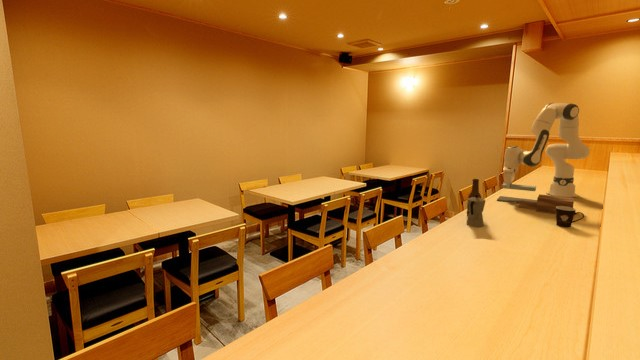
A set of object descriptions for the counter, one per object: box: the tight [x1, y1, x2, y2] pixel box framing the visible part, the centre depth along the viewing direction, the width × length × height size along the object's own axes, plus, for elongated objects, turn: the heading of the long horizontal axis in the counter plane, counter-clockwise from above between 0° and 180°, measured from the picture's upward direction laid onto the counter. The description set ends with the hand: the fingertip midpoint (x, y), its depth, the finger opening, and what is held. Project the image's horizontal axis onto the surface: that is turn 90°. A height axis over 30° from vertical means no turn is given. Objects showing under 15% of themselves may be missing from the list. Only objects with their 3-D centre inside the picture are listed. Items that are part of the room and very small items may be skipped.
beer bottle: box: [466, 178, 482, 218], centre depth 188 cm, size 8×8×24 cm
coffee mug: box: [555, 206, 585, 229], centre depth 169 cm, size 12×9×10 cm
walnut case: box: [518, 194, 575, 215], centre depth 199 cm, size 12×28×9 cm, turn 50°
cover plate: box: [501, 182, 537, 192], centre depth 220 cm, size 6×20×2 cm, turn 51°
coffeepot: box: [466, 194, 486, 228], centre depth 175 cm, size 15×9×18 cm, turn 137°
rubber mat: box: [496, 195, 537, 204], centre depth 221 cm, size 12×26×1 cm, turn 50°
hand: (508, 187), depth 224 cm, fingers closed on cover plate, 6 cm apart
